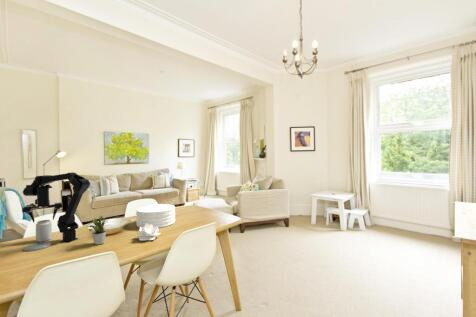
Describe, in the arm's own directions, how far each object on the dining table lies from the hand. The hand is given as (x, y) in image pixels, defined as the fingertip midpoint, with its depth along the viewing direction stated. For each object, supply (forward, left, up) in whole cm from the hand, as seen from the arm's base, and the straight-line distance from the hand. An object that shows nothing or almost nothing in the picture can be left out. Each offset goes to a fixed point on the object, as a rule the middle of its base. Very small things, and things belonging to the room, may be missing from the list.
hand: (43, 221), depth 145 cm
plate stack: (-47, -48, -12) cm, 68 cm away
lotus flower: (-61, -17, -12) cm, 65 cm away
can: (0, 0, -12) cm, 12 cm away
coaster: (-8, +10, -12) cm, 17 cm away
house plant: (-37, -4, -12) cm, 39 cm away
